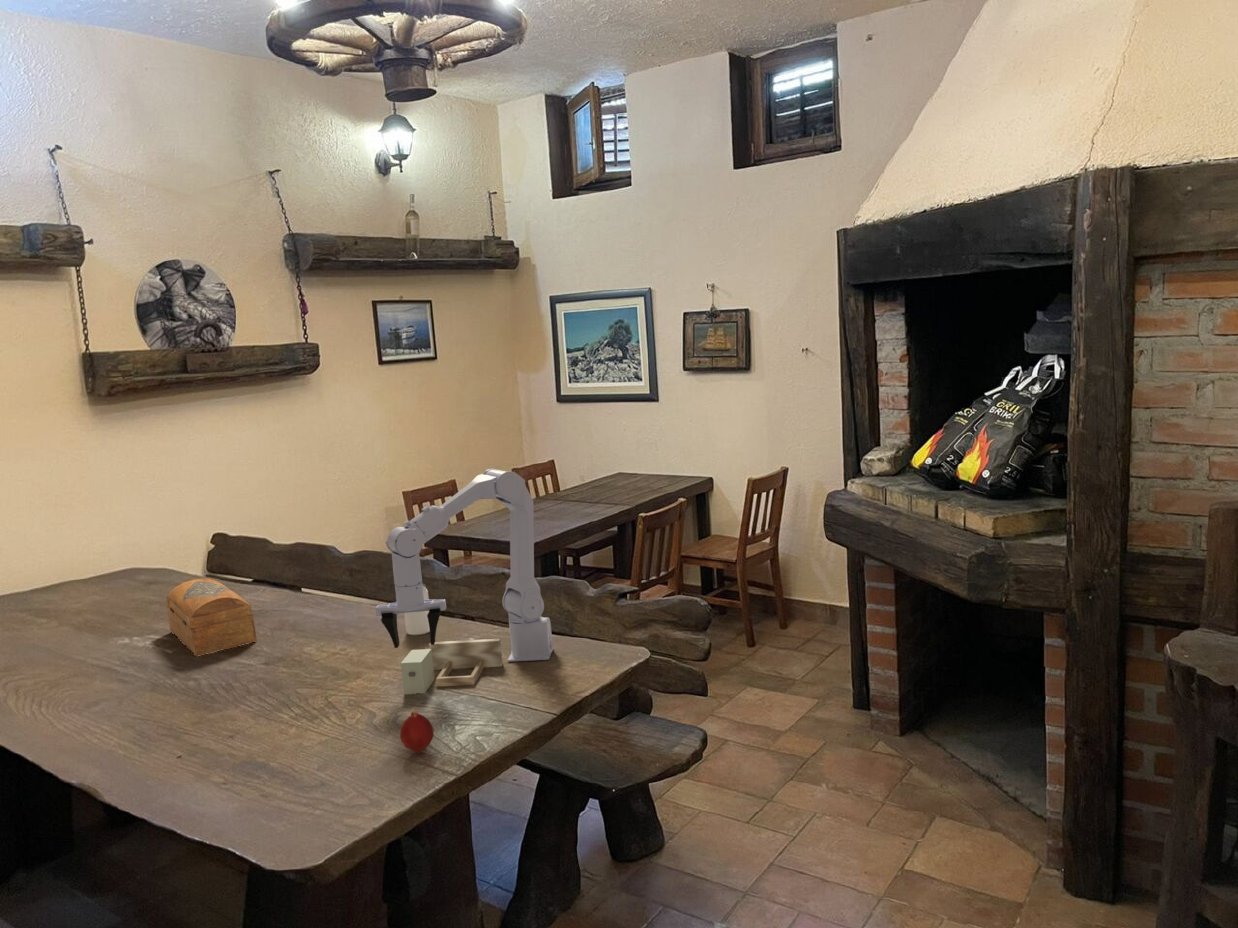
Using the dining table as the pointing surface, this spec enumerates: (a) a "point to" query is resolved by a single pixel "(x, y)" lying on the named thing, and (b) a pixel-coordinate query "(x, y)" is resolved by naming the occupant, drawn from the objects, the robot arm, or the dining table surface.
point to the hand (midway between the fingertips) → (415, 644)
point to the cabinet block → (417, 671)
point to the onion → (416, 732)
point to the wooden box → (209, 616)
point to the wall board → (464, 659)
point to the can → (417, 620)
